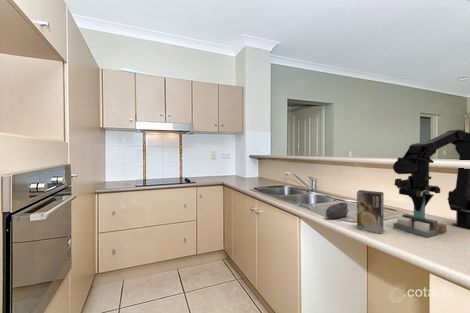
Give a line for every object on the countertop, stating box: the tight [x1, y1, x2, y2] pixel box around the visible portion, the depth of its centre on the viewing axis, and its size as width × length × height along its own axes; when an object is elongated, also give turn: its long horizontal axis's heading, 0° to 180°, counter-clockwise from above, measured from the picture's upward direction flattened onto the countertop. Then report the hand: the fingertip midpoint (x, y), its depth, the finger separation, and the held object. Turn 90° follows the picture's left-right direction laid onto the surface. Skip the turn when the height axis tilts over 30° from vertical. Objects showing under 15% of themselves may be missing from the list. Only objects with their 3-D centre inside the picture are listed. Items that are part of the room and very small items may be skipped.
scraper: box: [402, 200, 439, 227], centre depth 91 cm, size 3×11×10 cm, turn 24°
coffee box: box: [356, 189, 385, 234], centre depth 92 cm, size 9×6×16 cm
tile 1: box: [397, 215, 413, 228], centre depth 92 cm, size 4×4×2 cm
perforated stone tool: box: [325, 202, 349, 220], centre depth 109 cm, size 15×5×7 cm, turn 115°
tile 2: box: [414, 221, 430, 232], centre depth 87 cm, size 4×4×2 cm
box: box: [392, 221, 436, 239], centre depth 90 cm, size 6×12×2 cm, turn 24°
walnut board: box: [412, 222, 447, 236], centre depth 93 cm, size 8×12×3 cm, turn 24°
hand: (419, 210), depth 91 cm, fingers closed on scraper, 2 cm apart
